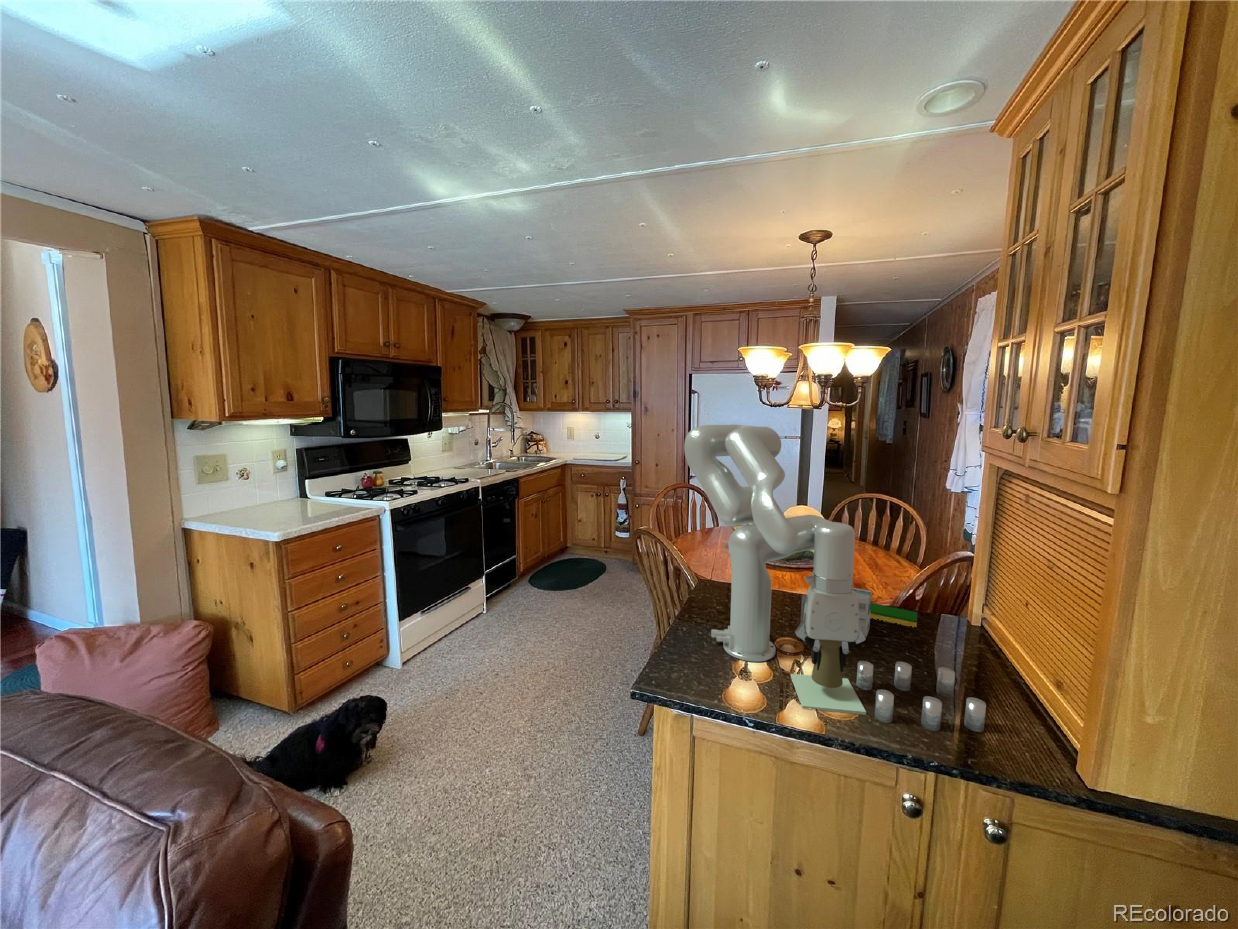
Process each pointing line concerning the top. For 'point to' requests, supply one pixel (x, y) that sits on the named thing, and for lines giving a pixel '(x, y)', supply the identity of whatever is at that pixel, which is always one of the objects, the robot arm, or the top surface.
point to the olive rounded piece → (828, 665)
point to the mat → (827, 696)
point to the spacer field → (930, 704)
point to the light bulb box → (864, 609)
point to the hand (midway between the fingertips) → (828, 667)
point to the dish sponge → (893, 615)
